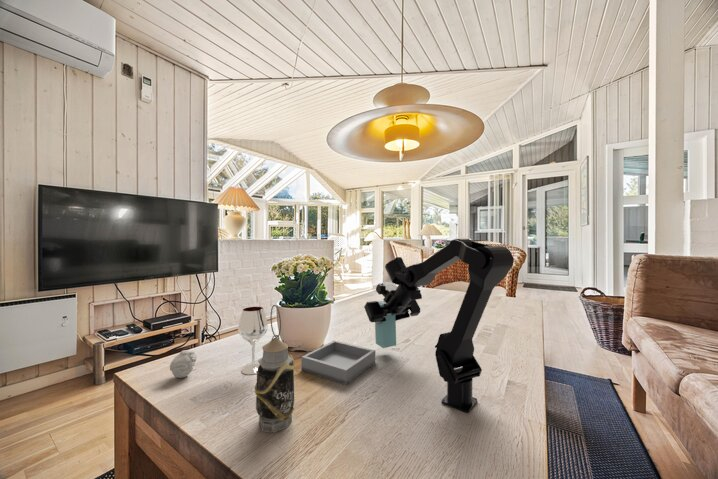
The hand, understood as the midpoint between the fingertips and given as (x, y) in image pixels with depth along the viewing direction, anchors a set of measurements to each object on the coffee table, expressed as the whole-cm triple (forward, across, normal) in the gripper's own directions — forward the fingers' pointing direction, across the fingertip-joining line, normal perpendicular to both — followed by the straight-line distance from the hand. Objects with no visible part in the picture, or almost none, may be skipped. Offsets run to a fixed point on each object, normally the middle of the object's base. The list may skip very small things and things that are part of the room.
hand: (383, 322), depth 100 cm
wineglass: (+12, +41, +3) cm, 43 cm away
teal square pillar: (+4, 0, +6) cm, 7 cm away
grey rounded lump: (+16, +59, -1) cm, 61 cm away
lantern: (-7, +41, +22) cm, 47 cm away
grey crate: (+5, +18, +10) cm, 21 cm away
